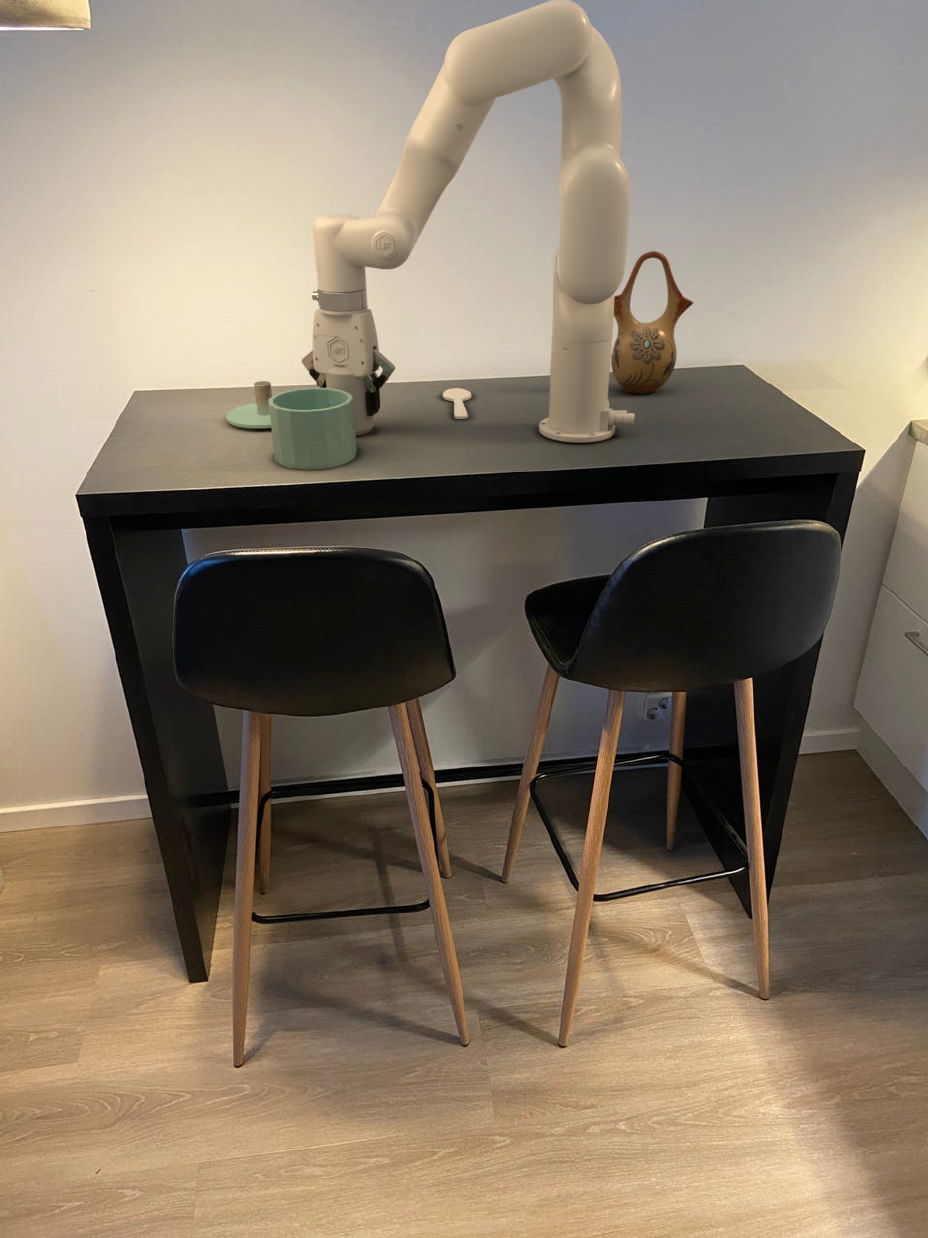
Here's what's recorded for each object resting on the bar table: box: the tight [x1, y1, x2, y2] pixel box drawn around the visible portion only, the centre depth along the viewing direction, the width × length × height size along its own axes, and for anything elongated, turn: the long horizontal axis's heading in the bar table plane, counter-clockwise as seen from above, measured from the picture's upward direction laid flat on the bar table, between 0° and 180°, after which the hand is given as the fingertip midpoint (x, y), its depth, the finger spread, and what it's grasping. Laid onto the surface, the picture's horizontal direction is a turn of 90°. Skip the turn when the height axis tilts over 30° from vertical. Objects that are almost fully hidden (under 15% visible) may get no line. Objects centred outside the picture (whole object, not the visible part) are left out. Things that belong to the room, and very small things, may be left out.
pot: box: [268, 387, 358, 471], centre depth 141 cm, size 13×13×9 cm
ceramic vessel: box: [610, 250, 694, 395], centre depth 167 cm, size 16×9×25 cm, turn 93°
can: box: [325, 363, 376, 436], centre depth 150 cm, size 8×8×12 cm
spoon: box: [442, 387, 472, 420], centre depth 166 cm, size 5×18×1 cm, turn 3°
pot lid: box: [225, 380, 273, 430], centre depth 158 cm, size 14×14×6 cm
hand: (351, 410), depth 152 cm, fingers closed on can, 7 cm apart
